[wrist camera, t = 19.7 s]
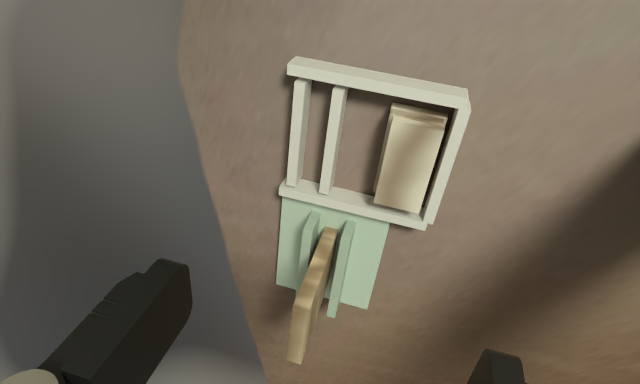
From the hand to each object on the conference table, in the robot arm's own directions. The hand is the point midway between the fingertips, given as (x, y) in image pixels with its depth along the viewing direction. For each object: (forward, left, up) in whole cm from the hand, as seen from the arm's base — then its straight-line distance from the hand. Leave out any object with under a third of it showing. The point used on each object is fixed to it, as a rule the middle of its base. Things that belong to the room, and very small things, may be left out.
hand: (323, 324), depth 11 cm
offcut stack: (-2, +9, -30) cm, 31 cm away
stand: (+4, +24, -30) cm, 39 cm away
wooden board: (+4, +24, -29) cm, 38 cm away
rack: (+2, +9, -30) cm, 31 cm away
